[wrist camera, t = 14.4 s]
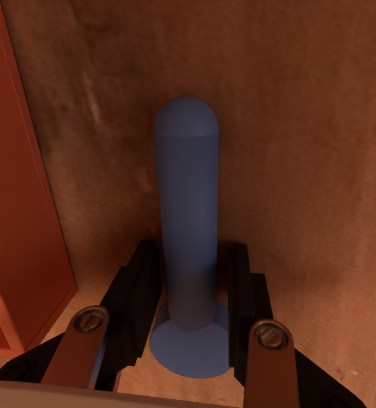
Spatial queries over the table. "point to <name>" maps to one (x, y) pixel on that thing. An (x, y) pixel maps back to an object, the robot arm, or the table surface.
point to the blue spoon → (189, 241)
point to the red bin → (26, 224)
